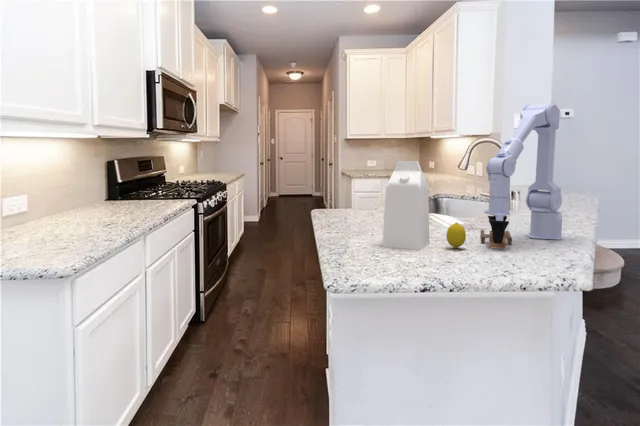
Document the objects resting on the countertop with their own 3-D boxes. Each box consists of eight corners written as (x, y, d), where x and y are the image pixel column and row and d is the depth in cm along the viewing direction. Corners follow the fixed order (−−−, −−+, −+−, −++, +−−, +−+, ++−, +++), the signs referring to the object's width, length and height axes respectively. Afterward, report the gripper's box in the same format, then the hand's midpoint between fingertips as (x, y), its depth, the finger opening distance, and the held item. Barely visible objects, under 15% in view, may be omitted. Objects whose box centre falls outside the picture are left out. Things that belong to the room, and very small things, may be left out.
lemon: (466, 251, 142) (467, 224, 141) (446, 250, 143) (447, 223, 142) (464, 247, 147) (465, 221, 146) (445, 246, 148) (446, 220, 147)
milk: (429, 243, 154) (431, 161, 150) (420, 250, 144) (423, 162, 140) (392, 240, 159) (394, 160, 155) (382, 246, 149) (383, 161, 145)
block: (504, 245, 150) (505, 231, 149) (505, 248, 145) (505, 233, 145) (489, 244, 151) (489, 230, 150) (489, 247, 147) (490, 233, 146)
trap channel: (508, 235, 165) (508, 230, 165) (511, 244, 150) (512, 238, 150) (480, 234, 168) (480, 229, 167) (481, 243, 153) (481, 236, 153)
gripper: (484, 194, 155) (482, 236, 156) (485, 198, 141) (483, 244, 143) (508, 194, 152) (506, 237, 154) (511, 199, 139) (509, 246, 141)
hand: (497, 240), depth 148 cm, fingers open, 7 cm apart
